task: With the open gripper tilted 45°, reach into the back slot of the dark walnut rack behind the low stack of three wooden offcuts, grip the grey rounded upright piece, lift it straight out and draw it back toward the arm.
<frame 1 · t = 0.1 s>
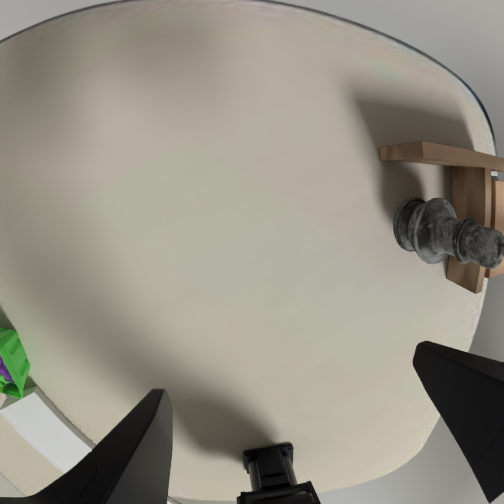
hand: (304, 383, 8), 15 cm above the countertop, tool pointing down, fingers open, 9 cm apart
teak offcut: (490, 226, 21), point 3 cm above the countertop
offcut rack: (414, 224, 23), on the countertop
fruit basket: (5, 347, 22), on the countertop
grey rounded upright piece: (413, 224, 23), on the countertop
decorative molding: (100, 461, 28), on the countertop
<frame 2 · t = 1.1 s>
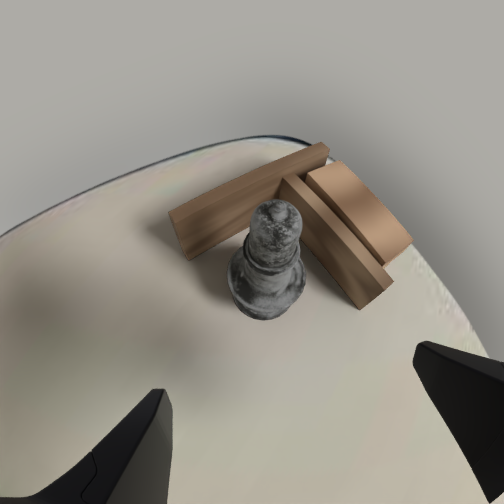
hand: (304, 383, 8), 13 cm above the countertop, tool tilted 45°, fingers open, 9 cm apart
teak offcut: (354, 218, 23), point 3 cm above the countertop, touching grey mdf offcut
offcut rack: (263, 290, 23), on the countertop
grey rounded upright piece: (263, 291, 24), on the countertop
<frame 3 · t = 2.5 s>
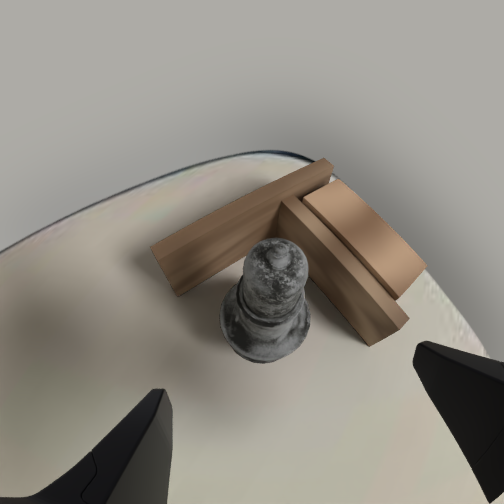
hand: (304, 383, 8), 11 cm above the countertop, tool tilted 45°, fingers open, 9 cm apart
teak offcut: (359, 245, 20), point 3 cm above the countertop
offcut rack: (262, 329, 20), on the countertop
grey rounded upright piece: (262, 330, 21), on the countertop
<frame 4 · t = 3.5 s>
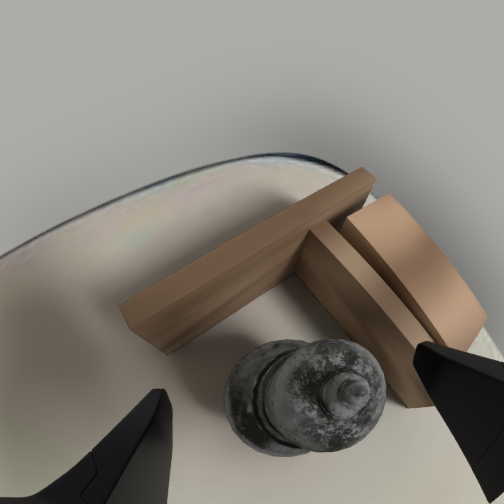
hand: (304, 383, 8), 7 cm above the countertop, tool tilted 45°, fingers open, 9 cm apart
teak offcut: (409, 285, 14), point 4 cm above the countertop, touching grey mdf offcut
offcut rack: (279, 399, 14), on the countertop
grey rounded upright piece: (278, 399, 14), on the countertop
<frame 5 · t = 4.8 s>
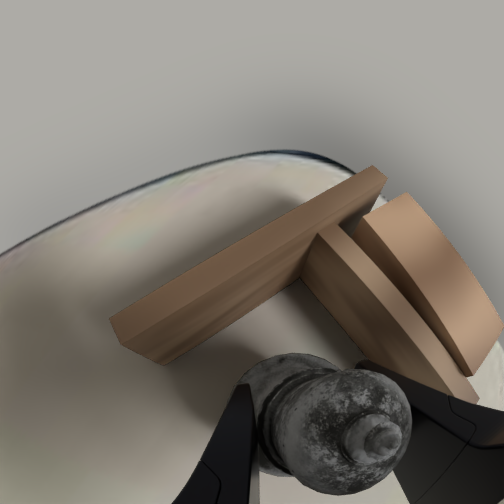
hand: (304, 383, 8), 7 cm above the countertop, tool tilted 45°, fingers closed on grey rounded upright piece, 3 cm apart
teak offcut: (426, 290, 13), point 4 cm above the countertop, touching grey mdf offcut
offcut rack: (283, 413, 13), on the countertop
grey rounded upright piece: (283, 412, 13), on the countertop, touching gripper
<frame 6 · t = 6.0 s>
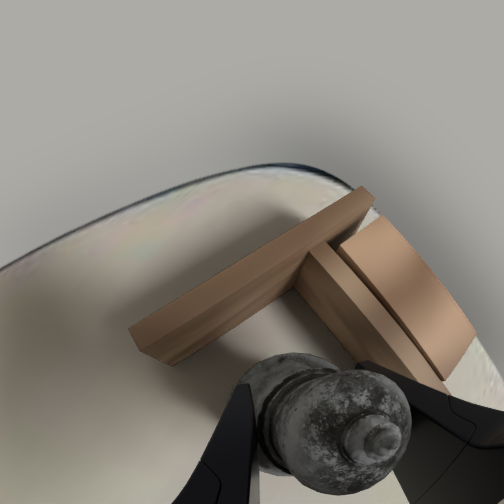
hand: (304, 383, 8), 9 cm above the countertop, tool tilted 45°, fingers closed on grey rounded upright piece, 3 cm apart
teak offcut: (401, 304, 15), point 3 cm above the countertop
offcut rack: (278, 408, 15), on the countertop
grey rounded upright piece: (282, 412, 13), point 2 cm above the countertop, touching gripper
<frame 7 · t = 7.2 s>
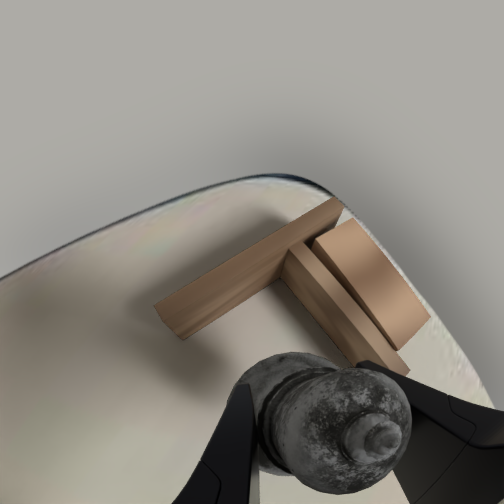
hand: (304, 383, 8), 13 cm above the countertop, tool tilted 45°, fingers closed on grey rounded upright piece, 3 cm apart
teak offcut: (366, 289, 20), point 3 cm above the countertop, touching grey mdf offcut
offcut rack: (267, 373, 20), on the countertop
grey rounded upright piece: (282, 411, 13), point 6 cm above the countertop, touching gripper
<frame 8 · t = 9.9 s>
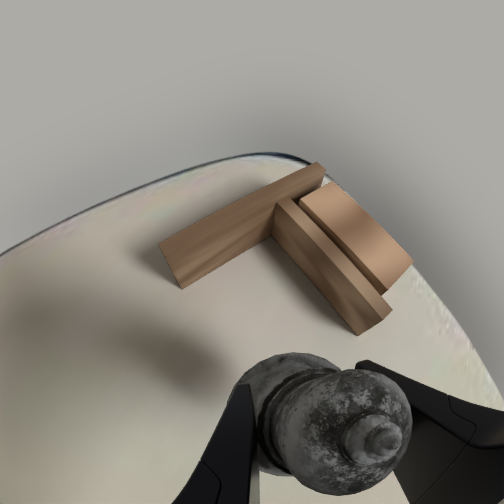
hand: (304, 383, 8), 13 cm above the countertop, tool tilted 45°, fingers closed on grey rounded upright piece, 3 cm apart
teak offcut: (351, 242, 22), point 4 cm above the countertop
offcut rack: (258, 319, 23), on the countertop
grey rounded upright piece: (283, 412, 13), point 7 cm above the countertop, touching gripper
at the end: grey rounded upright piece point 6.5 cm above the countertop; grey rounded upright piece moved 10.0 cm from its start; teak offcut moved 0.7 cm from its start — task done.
